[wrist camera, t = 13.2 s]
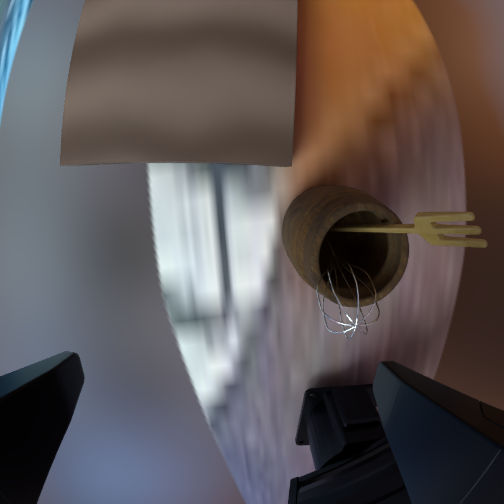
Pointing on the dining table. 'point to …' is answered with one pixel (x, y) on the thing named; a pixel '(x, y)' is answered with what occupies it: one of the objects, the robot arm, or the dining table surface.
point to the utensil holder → (359, 244)
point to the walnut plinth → (182, 83)
